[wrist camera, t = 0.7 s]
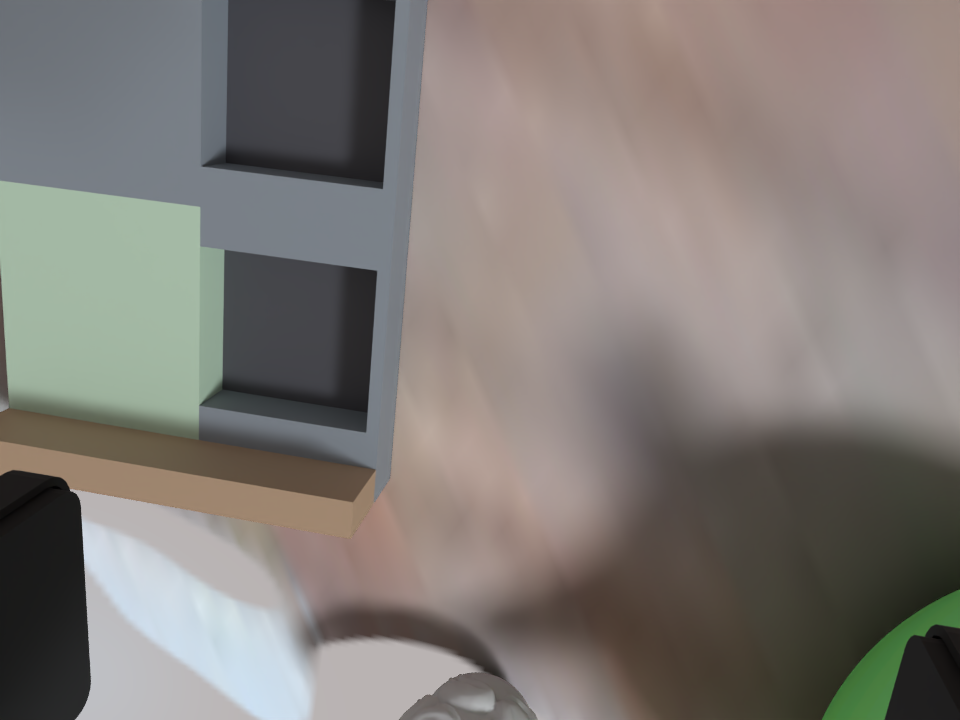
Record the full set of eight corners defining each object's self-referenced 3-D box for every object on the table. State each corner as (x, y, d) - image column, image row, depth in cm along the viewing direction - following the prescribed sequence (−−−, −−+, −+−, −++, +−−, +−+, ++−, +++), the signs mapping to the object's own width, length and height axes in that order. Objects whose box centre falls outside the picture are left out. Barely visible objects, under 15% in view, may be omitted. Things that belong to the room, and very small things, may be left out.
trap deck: (13, -306, 31) (-112, -389, 26) (449, -284, 29) (409, -369, 24) (48, 420, 39) (-41, 468, 34) (389, 478, 37) (350, 539, 32)
